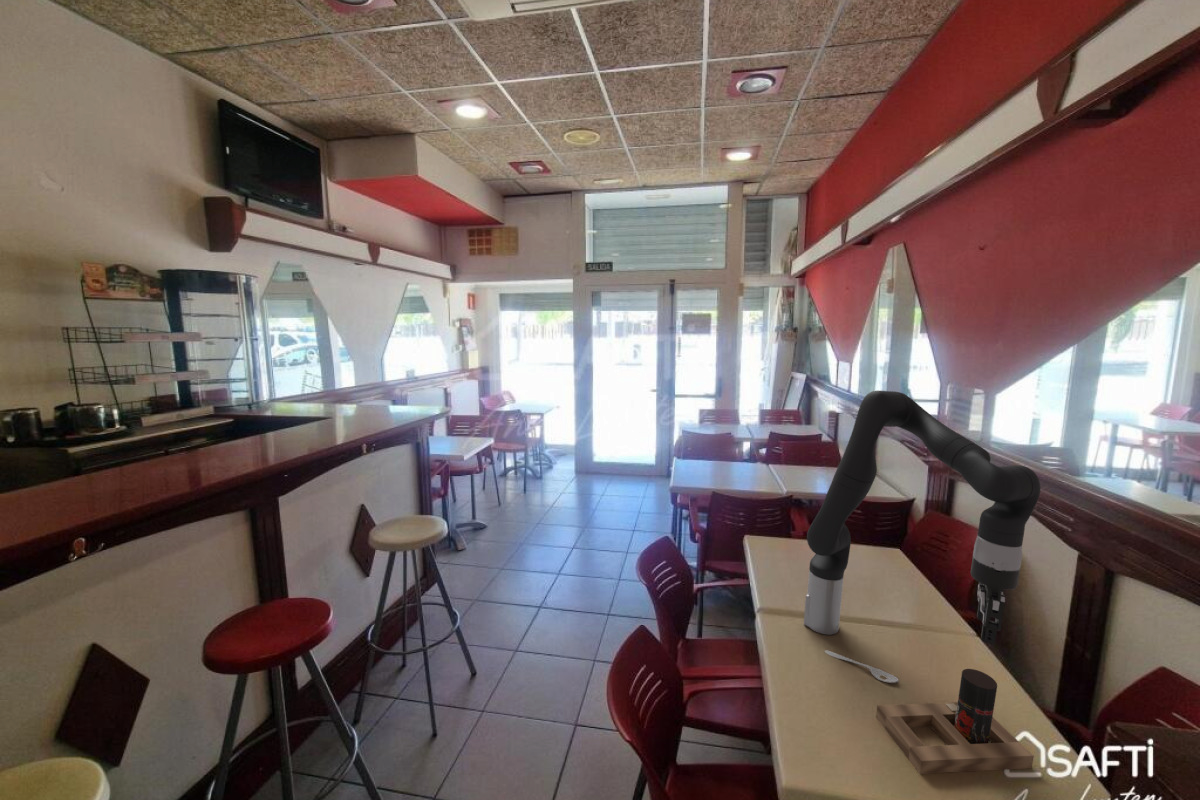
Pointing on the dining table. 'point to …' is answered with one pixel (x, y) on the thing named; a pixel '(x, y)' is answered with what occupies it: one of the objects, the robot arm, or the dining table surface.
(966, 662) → the dining table surface
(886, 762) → the dining table surface
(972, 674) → the deodorant
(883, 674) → the spoon
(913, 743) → the wooden frame
